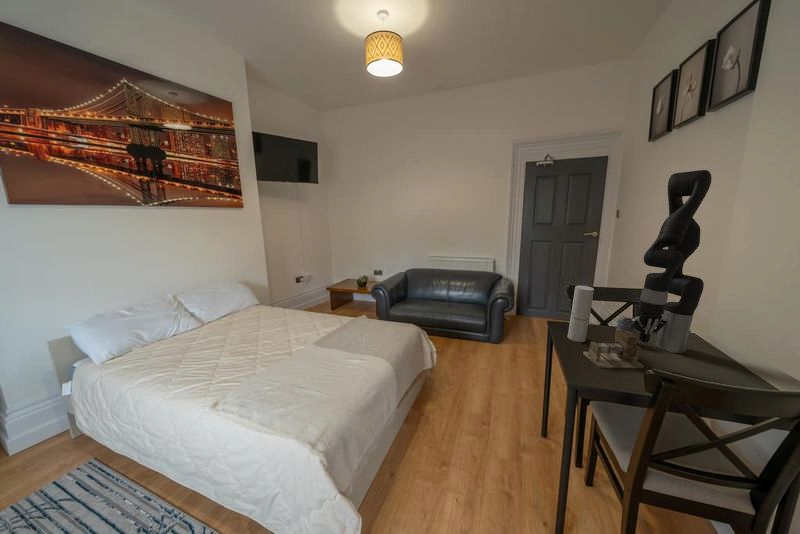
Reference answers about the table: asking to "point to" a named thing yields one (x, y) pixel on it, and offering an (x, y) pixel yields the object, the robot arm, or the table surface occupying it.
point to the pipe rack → (611, 356)
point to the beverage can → (625, 324)
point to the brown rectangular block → (626, 344)
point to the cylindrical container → (580, 313)
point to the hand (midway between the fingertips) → (643, 341)
